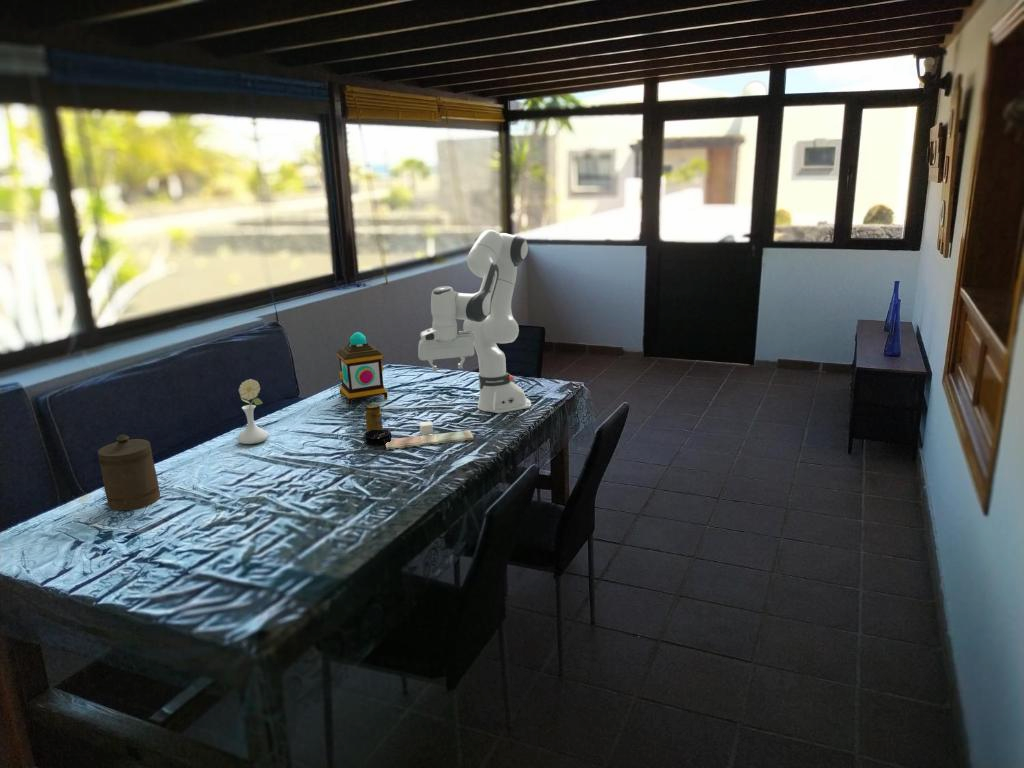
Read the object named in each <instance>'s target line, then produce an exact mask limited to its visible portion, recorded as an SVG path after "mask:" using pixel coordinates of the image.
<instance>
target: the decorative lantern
mask: <svg viewBox="0 0 1024 768" xmlns="http://www.w3.org/2000/svg"><path fill="white" fill-rule="evenodd" d="M336 355H337V357H338V359H339V367H340V371H339V372H338V378H339V379H340V380H341V385H340V387H339V393H340V396H341V397H345V398H346V399H347V403H348V406H352V405H353V404H352V403H353V400H356V399H363V398H370V397H374V396H375V397H376V396H383V399H384V400H388V392H387V390H386V388H385V386H384V375H383V372H384V364H383V363H382V358H383V356H384V354H383V352H381V351H380V350H379V349H378V348H376V347H375V346H374V345H373V344H372V343H368V342H367V337H366V336H365V335H364V334H363V333H362V332H359V331H357V332H354V333H353V334H352V335H351V336H350V338H349V342H348V344H346V345H345V346H344V347H340V348H339V349H338V350H337V351H336Z"/></svg>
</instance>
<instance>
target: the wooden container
mask: <svg viewBox="0 0 1024 768" xmlns="http://www.w3.org/2000/svg"><path fill="white" fill-rule="evenodd" d="M151 446H152V445H151V442H150V441H149V440H146V439H142V438H136V439H135V438H134V439H132V438H131V439H130V436H128V435H126V434H120V435H118V436H117V437H116V441H115V442H112V443H109V444H107V445H105V446H103V447H101V448H100V449H98V451H97V455H98V461H99V466H100V470H101V471H100V472H101V475H102V476H101V477H102V482H103V487H104V492H105V496H106V501H107V506H108V508H109V509H110V508H111V510H112V511H113V510H114V511H119V512H120V511H121V510H122V511H123V512H124V510H126V511H133V510H137V509H141V507H142V508H145V507H147V506H149V504H150V505H151V503H152V504H154V503H155V502H157V501H158V500H159V499H160V497H161V491H160V487H159V481H158V475H157V471H156V467H155V462H154V458H153V457H154V456H153V452H152V447H151ZM156 500H157V501H156ZM153 502H154V503H153ZM144 506H145V507H144Z"/></svg>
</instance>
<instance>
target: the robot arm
mask: <svg viewBox="0 0 1024 768" xmlns="http://www.w3.org/2000/svg"><path fill="white" fill-rule="evenodd" d="M469 250H470V251H469V252H468V255H467V258H466V264H467V266H468V269H469V270H470V272H471V273H472V274H474V275H475V276H476V277H477V278H478V277H479V278H481V279H482V282H481V285H480V287H479V291H477V292H474V293H470V292H469V293H468V292H467V293H465V292H458V291H455V290H454V288H453V287H452V286H449V285H442V286H438V287H435V288H434V289H433V290H432V291H431V298H430V312H431V316H432V323H431V324H432V325H431V327H430V328H427V329H424V330H423V331H421V332H420V334H419V335H420V340H419V342H418V349H417V353H418V354H417V355H418V359H419V360H420V361H428V363H429V365H430V366H431V371H432V372H437V371H438V370H437V368H438V367H437V365H435V364H433V363H434V360H441V359H442V360H445V359H453V358H454V359H455V358H460V362H458V363H457V369H458V370H463V369H464V368H463V365H464V362H465V360H466V357H473V356H474V355H475V352H476V354H477V361H478V370H479V371H478V373H479V374H478V388H479V397H478V403H477V409H478V410H480V411H482V412H483V411H484V412H490V413H491V412H492V413H495V414H502V413H506V412H513V411H519V410H524V409H528V408H529V409H530V408H532V402H531V400H530V399H529V398H527V397H526V395H525V392H524V391H525V390H524V389H523V388H522V387H521V386H519V385H517V384H516V383H515V382H513V381H514V379H515V377H514V376H513V375H511V374H510V373H509V372H507V368H506V367H507V364H506V363H507V362H506V361H507V360H506V356H505V355H506V354H505V353H504V351H502V350H501V349H500V348H499V346H498V345H497V344H509V343H513V342H515V341H516V339H517V338H518V336H519V332H520V329H519V328H520V327H519V324H518V322H517V321H516V319H515V318H514V316H513V311H512V299H513V295H514V289H515V286H516V282H517V281H516V279H517V274H518V266H519V265H520V264H521V263H523V262H524V261H525V259H526V258H527V256H528V252H529V243H528V241H527V240H526V237H523V236H520V235H514V234H511V233H510V234H509V233H505V232H502V233H500V232H498V231H497V230H494V229H486V230H485V231H483V232H480V233H479V234H478V235H477V236H476V238H475V240H474V243H473V245H472V247H471V248H470V249H469ZM457 320H461V321H462V320H463V321H464V322H463V325H462V328H463V329H462V330H458V322H457Z"/></svg>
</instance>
